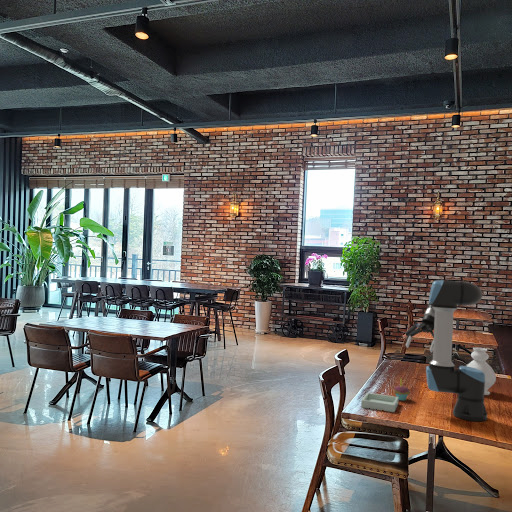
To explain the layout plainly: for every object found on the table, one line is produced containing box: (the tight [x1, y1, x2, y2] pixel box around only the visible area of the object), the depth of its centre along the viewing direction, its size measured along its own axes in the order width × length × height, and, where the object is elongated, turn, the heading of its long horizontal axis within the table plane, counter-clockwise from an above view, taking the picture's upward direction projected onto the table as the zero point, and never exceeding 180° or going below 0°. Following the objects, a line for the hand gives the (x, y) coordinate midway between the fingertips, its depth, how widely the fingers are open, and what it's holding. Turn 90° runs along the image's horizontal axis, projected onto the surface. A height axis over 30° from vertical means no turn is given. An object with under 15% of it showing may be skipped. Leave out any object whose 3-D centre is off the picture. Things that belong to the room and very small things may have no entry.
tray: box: [360, 392, 399, 413], centre depth 258 cm, size 16×16×4 cm
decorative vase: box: [466, 347, 497, 396], centre depth 294 cm, size 18×18×25 cm
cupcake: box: [392, 378, 411, 401], centre depth 272 cm, size 9×8×12 cm
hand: (418, 348), depth 282 cm, fingers open, 13 cm apart
